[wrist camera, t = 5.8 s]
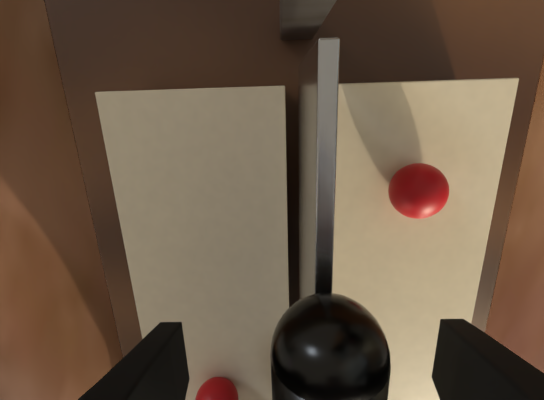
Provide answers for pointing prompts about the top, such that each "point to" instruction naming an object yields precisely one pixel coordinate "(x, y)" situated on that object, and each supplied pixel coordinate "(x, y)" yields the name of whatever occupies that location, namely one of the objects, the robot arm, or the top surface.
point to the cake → (274, 226)
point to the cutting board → (284, 83)
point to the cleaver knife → (324, 266)
